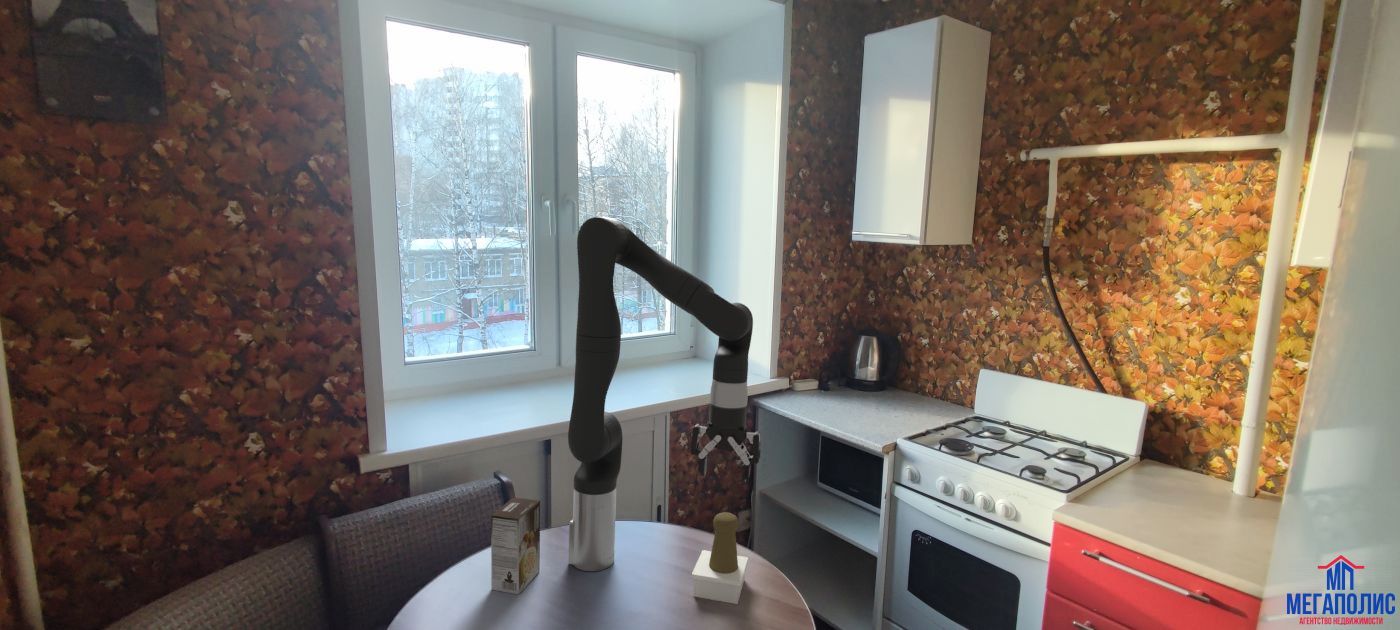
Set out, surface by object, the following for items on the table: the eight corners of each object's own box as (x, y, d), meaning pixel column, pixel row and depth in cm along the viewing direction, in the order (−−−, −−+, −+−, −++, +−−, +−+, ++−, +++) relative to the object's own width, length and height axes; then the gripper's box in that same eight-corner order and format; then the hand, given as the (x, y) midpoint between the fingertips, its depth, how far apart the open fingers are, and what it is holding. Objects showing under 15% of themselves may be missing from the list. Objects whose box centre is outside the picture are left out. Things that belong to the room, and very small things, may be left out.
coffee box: (512, 567, 131) (513, 495, 129) (540, 571, 130) (541, 499, 128) (490, 590, 122) (490, 514, 120) (519, 595, 121) (520, 518, 119)
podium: (690, 597, 123) (691, 574, 123) (701, 571, 133) (702, 550, 132) (739, 606, 121) (740, 582, 121) (746, 579, 131) (748, 557, 130)
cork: (716, 555, 130) (718, 506, 129) (742, 562, 128) (745, 513, 127) (704, 568, 125) (706, 517, 124) (731, 576, 122) (734, 524, 121)
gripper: (689, 402, 122) (685, 479, 124) (760, 410, 119) (755, 490, 121) (698, 393, 129) (694, 466, 131) (765, 400, 126) (760, 476, 128)
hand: (723, 477), depth 126 cm, fingers open, 8 cm apart
